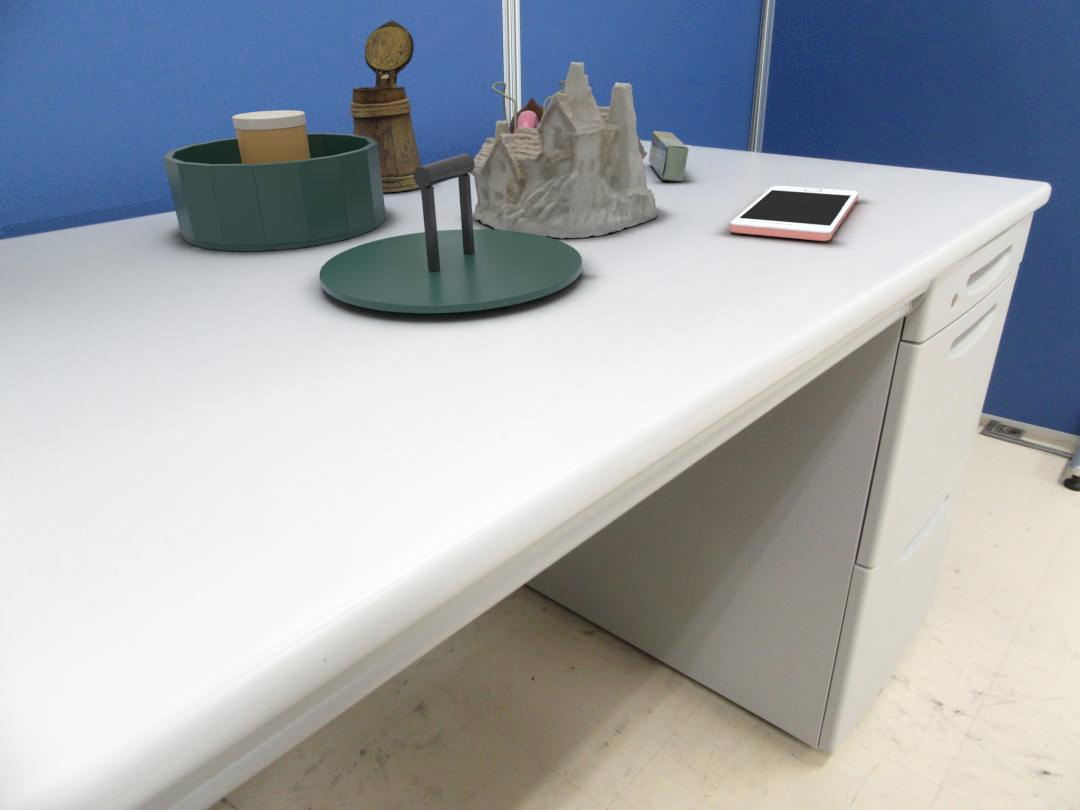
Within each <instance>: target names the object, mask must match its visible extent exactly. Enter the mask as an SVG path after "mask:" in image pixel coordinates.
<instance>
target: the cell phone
mask: <svg viewBox="0 0 1080 810" xmlns="http://www.w3.org/2000/svg"><path fill="white" fill-rule="evenodd" d="M859 195H860V192H859V191H858V190H849V189H833V188H818V187H806V186H805V187H803V186H791V185H790V186H789V185H773V186H771V187H770V188H768V189H767V190H766V191H765V192H764V193H762V194H761V195H760V196H759V197H757V199H755V201H753V202H752V203H751V204H750V205H748V206H747V207H746V208H745V209H743V211H741V212H740V213H739V214H738V215H737V216H735V218H733V219H732V220H731V221H730V223H729V224H730V225H729V231H730V232H731V233H735V234H745V235H746V234H747V235H756V236H765V237H766V236H767V237H775V238H777V237H778V238H788V239H797V240H798V239H800V240H809V241H819V242H821V241H822V242H823V241H824V242H825V241H826V242H827V241H829V240H831V239H832V237H833V236H834V234H835V232H836V231H837V230H838V228H839V227H840V225H841V224H842V222H843V221H844V219H845V218H846V217H847V215H848V213H849V212H850V210H851V209H852V208H853V207H854V206H855V203H856V202H857V201H858V200H859Z"/></svg>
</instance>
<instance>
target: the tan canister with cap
mask: <svg viewBox="0 0 1080 810" xmlns="http://www.w3.org/2000/svg"><path fill="white" fill-rule="evenodd" d="M306 118H307V117H306V113H305V111H303V110H294V109H293V110H291V109H286V110H285V109H283V110H262V111H252V112H251V111H250V112H244V113H243V112H242V113H238V114H234V115H232V117H231V119H232V124H233V128H234V129H235V134H236V138H237V139H238V145H239V150H240V155H241V160H242V164H258V163H272V162H285V161H298V160H305V159H311V158H310V151H309V144H308V138H307V133H308V132H307V125H306V124H307V119H306Z"/></svg>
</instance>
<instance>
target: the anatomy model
mask: <svg viewBox="0 0 1080 810" xmlns="http://www.w3.org/2000/svg"><path fill="white" fill-rule="evenodd" d="M562 84H566V80H560V81H559V82H558V86H559V88H560V90H559V91H557V92H556V93H564V91H565V88H563V86H562ZM498 85H503V89H502V91H501V90H499V89H497V88H496V86H498ZM491 89H492V90H493V91H494V92H496V93H498V94H500V95H501V96H502V105H503V106H502V107H503V117H504V118H503V119H504V120H506V121H507V122H508V119H507V118H508V117H507V107H506V99H508V100H510V101H511V102H512V103H513V116H512V117H511V120H510V123H509V126H508V128H509V132H510V134H515V133H516V132H517V130H518V128H519V127H525V128H534V129H535V128H537V126H538V124H539V123H540V122H541V118H542V117H543V115H544V113H545V112H546V110H547V109H546V104H547V102H548V101H550V100H551V99H552V96H553V95H554V94H552V95H549V96H548V97H546V98H545V99H544V101H543V105H540V104H539V103H538V102H536V100H535V99H534V98H533V97H532V96H531V97H530V98H529V100H528V101H527V103H526V104H525V105H524V106H523V107H521V108H520V110H518V111H517V102H516V100H515V99H514V98H513V97H511V96H509V95H507V94H506V89H507V84H506V82H504V81H497V82H494V83H493V85H492V86H491Z"/></svg>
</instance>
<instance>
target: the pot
mask: <svg viewBox="0 0 1080 810" xmlns="http://www.w3.org/2000/svg"><path fill="white" fill-rule="evenodd" d="M307 138H308V144H309V151H310V158H311V159H305V160H298V161H285V162H272V163H258V164H242V160H241V155H240V150H239V145H238V139H237V137H232V138H231V137H230V138H222V139H215V140H211V141H210V140H209V141H204V142H200V143H193V144H189V145H184V146H182V147H178V148H176V149H172V150H169V151H167V152H166V154H165V156H164V157H163V162H164V166H165V172H166V175H167V179H168V184H169V188H170V192H171V193H170V194H171V196H172V201H173V205H174V209H175V210H174V211H175V215H176V218H177V222H178V227H179V231H180V235H182V237H183V239H184V240H185V241H186V242H187V243H188V244H190V245H193V246H196V247H200V248H204V249H207V250H208V249H209V250H215V251H216V250H217V251H225V252H267V251H268V252H269V251H281V250H282V251H284V250H293V249H301V248H302V249H303V248H308V247H315V246H321V245H326V244H332V243H336V242H340V241H345V240H348V239H352V238H356V237H358V236H361V235H364V234H366V233H368V232H371V231H374V230H375V229H377V228H378V227H379V226H381V225H382V224H383V223H384V221H385V216H386V213H387V212H386V206H385V197H384V193H383V187H382V178H381V169H380V160H379V151H378V143H377V142H376V141H375V140H374V139H373V138H370V137H365V136H360V135H355V134H354V133H352V134H351V133H336V132H335V133H333V132H307Z"/></svg>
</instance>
